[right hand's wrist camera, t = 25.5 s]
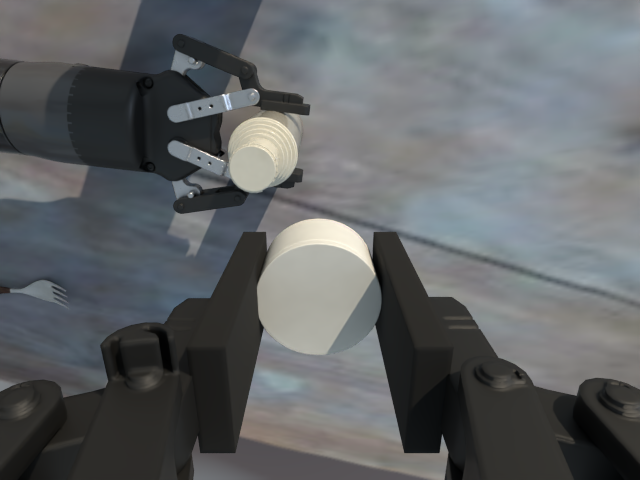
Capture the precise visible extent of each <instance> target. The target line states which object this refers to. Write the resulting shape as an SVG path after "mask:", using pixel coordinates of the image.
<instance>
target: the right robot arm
mask: <svg viewBox="0 0 640 480" xmlns="http://www.w3.org/2000/svg"><path fill="white" fill-rule="evenodd" d="M266 254H267V244H266V232H243V234H242V236H241V238H240V240H239V242H238V244H237V246H236V248H235V250H234V252H233V254H232V256H231V258H230V260H229V262H228V264H227V266H226V268H225V270H224V272H223V274H222V276H221V278H220V280H219V282H218V284H217V286H216V288H215V290H214V292H213V294H212V296H211V298H188V299H186V300H185V301H184V302H182V303H181V304H179V305H178V306H176V307H175V308H174V309H173V311H172V313H171V314H170V316H169V317H168V319H167V321H166V322H165V323H164V324H161V323H140V324H135V325H130V326H128V327H125V328H122V329H120V330H117V331H116V332H114V333H113V334H111V335H110V336H108V337H107V338H106V339H105V340H104V341H103V342H102V344H101V345H100V346H101V351H102V355H103V360H104V364H105V369H106V373H107V377H108V383H107V386H106V388H103V389H100V390H96V391H93V392H88V393H83V394H79V395H74V396H69V397H65V398H63V395H62V391H61V387H59V386H58V385H57V384H56V383H55V382H52V381H47V380H35V381H28V382H23V383H21V384H20V383H19V384H16V385H13V386H11V387H9V388H7V389H5V390H3V391H1V392H0V480H193V476H194V468H193V460H192V450H193V447H194V444H195V441H196V438H197V436H198V440H199V447H200V453H235V452H236V448H237V443H238V439H239V434H240V430H241V426H242V421H243V417H244V412H245V408H246V404H247V399H248V395H249V390H250V386H251V381H252V377H253V373H254V368H255V364H256V359H257V355H258V351H259V346H260V342H261V337H262V333H263V329H264V327H263V325H262V324H261V322H260V319H259V313H258V296H257V284H258V281H259V277H260V274H261V271H262V267H263V264H264V261H265V257H266ZM372 260H373V264H374V267H375V270H376V274H377V277H378V280H379V284H380V287H381V293H382V304H381V310H380V314H379V317H378V319H377V322H376V323H375V325H376V330H377V334H378V339H379V343H380V347H381V352H382V356H383V361H384V365H385V369H386V374H387V378H388V383H389V387H390V392H391V396H392V400H393V405H394V409H395V414H396V418H397V422H398V427H399V431H400V436H401V440H402V445H403V449H404V453H439V452H440V445H441V438H442V434H443V437H444V440H445V443H446V446H447V449H448V452H449V453H448V460H447V467H446V474H445V480H640V390H639V389H637V388H635V387H633V386H631V385H629V384H627V383H624V382H621V381H620V382H619V381H617V380H612V379H604V378H593V379H588V380H585V381H584V382H583V383H582V384H581V385H580V386H579V390H578V393H577V396H575V395H570V394H565V393H560V392H556V391H551V390H547V389H543V388H539V387H536V386H534V385H533V383H532V380H531V379H530V378H529V376H528V375H527V373H526V372H525V371H523V370H522V369H521V368H519V367H518V366H517V365H515V364H513V363H511V362H508V361H506V360H504V359H500V358H498V356H497V355H496V353H495V352H494V350H493V349H492V347H491V345H490V344H489V342H488V341H487V339H486V338H485V336H484V335H483V333H482V331H481V330H480V329H479V328H478V325H477V324H476V322H475V321H474V320H473V318H472V316H471V314H470V313H469V311H468V310H467V308H466V307H465V306H464V305H462V304H461V303H460V302H458V301H457V300H455V299H454V298H452V297H428V295H427V293H426V291H425V289H424V287H423V285H422V283H421V281H420V279H419V277H418V275H417V273H416V271H415V269H414V267H413V265H412V263H411V261H410V259H409V257H408V255H407V253H406V251H405V249H404V247H403V245H402V243H401V241H400V239H399V237H398V235H397V233H396V232H374V238H373V258H372Z"/></svg>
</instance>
